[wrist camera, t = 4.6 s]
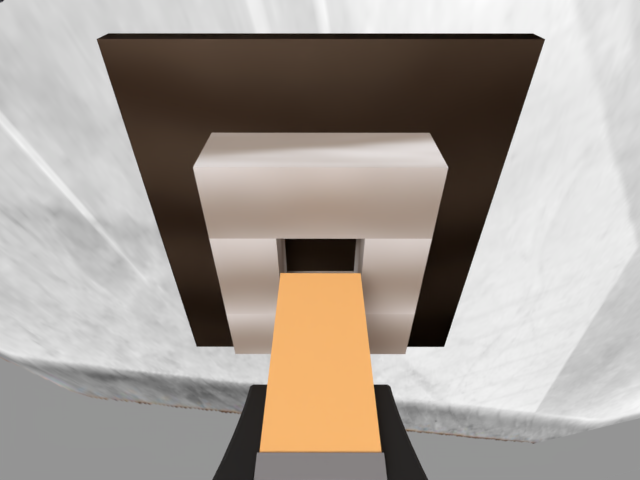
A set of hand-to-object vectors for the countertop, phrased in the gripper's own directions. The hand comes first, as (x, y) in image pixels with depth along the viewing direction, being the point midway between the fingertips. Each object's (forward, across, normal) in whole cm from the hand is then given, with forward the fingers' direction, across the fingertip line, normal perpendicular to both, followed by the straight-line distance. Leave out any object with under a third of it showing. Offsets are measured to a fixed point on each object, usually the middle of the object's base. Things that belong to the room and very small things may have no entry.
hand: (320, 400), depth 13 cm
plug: (+4, 0, 0) cm, 4 cm away
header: (+10, 0, 0) cm, 10 cm away
